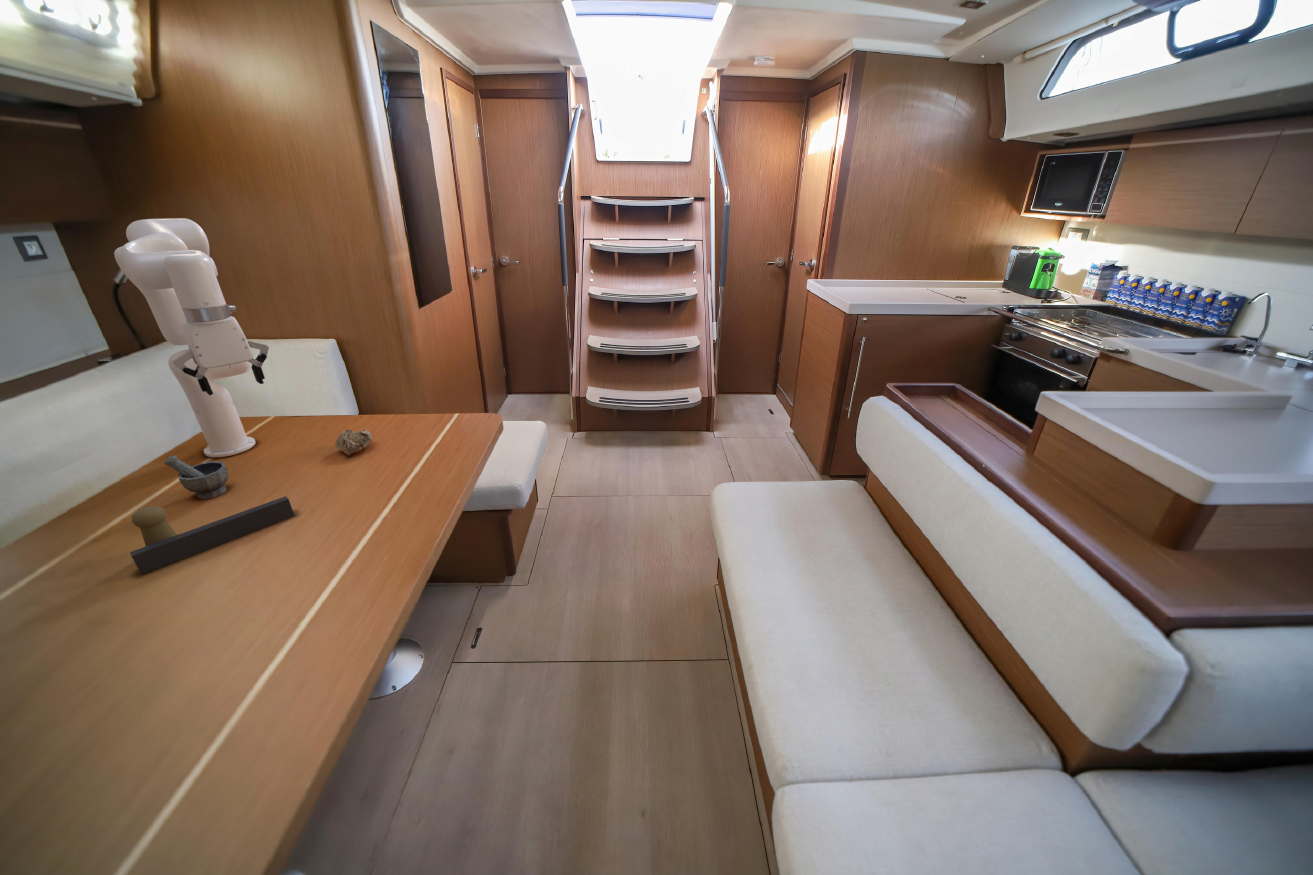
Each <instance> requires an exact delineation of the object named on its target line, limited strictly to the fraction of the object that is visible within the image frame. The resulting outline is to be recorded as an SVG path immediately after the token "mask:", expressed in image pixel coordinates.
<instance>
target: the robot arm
mask: <svg viewBox="0 0 1313 875" xmlns="http://www.w3.org/2000/svg"><path fill="white" fill-rule="evenodd" d="M125 236H126V239H127V241H128V242H126V243H125V244H123V245H122V246H119V247H118V248H116V249H115V250H114V252H113V253H114V254H113V255H114V256H113V257H114V258H115V261H116V263H117V265H118V267H119V269H120V270H121V272H122V273H123V274H124V276H125V277H126V278H127V279H128V280H129V281H130V282H131V283H132V284H133V285H134V286H135V287H136V288H137V289H138V290H139V291H140V293H141V294H142V295H143V296H144V298H145V300H146V302H147V304H148V306H149V308H150V311H151V313H152V315H153V317H154V319H155V321H156V323H157V326H158V328H159V330H160V332H161V334H162V336H163V338H164V339H165V340H166V341H167V342H168V343H169V344H171V345H173V346H186V345H187V347H188V349H184V350H180V351H177V352H175V353H173V354H171V355H170V356H169V358H168V361H167V362H168V367H169V369H170V371H171V372H172V374H173V376H174V377H175V379H176V380H177V382H178V383H179V385H180V386H181V388H182V390H183V392H184V394H185V396H186V398H187V400H188V403H189V404H190V407H191V409H192V411H193V414H194V416H195V419H196V420H197V424H198V425H199V428H200V430H201V432H202V434H203V437H204V440H205V441H206V444H207V446H206V447H205V448H204V449H203V454H204V456H206V457H208V458H224V457H225V458H226V457H230V456H235V455H238V454H241V453H245V452H246V451H248V450H250V449H251V448H253V447H254V446H255V445H256V443H257V442H256V438H254V437H252V436H247V434H246V430H245V428H244V425H243V423H242V421H241V418H240V416H239V413H238V410H237V407H236V405H235V403H234V400H233V398H232V395H231V393H230V392H229V390H228V389H227V388H225V387H224V386H222V385H220V384H219V383H216V382H214V381H217V380H219V379H224V378H229V377H233V376H239V375H243V374H246V373H247V372H249V370H250V368H251V371H252V373H253V376H254V379H255V382H257V383H258V384H260V385H263V384H265V382H264V380H265V375H264V371H263V369H262V367H263V365H264V362H265V361H266V360H267V358H268V354H269V349H270V347H269V345H267V344H263V343H259V342H254V341H251V340H250V341H249V340H248V339H247V337H246V335H245V332H244V331H243V329H242V327H241V325H240V324H239V322H238V320H237V319H236V317H234V316H232V313H235V312H238V310H237V307H236V305H231V304H230V305H229V304H227V303H226V299H225V297H224V294H223V291H222V289H221V286H220V283H219V280H218V278H217V277H218V276H219V273H218V272H219V271H218V268H217V266H216V263H215V261H214V259H213V258H212V257H211V256H210V243H209V239H208V236H207V235H206V232H205V231H204V230H203V228H202V227H201V226H200V225H199V224H198V223H197V222H195V221H193V220H192V219H189V218H147V219H146V218H145V219H138V220H135V221H132V222H131V223H130V224H129V225H127V227H126V230H125ZM252 349H256V350H259V353H258V355H257V356H256V358H254V354H253V351H252ZM250 364H251V366H250Z"/></svg>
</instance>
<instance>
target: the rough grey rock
mask: <svg viewBox="0 0 1313 875" xmlns="http://www.w3.org/2000/svg"><path fill="white" fill-rule="evenodd" d="M372 439H373V434H372V433H371V432H370V431H369V430H368V429H363V430H352V429H351V428H347V429H345V430H343V431H342V432H341V433H340V434H339V435H338V437H337V439H336V440H335V442H336V443H335V446H336V448H337V449H338V450H340V451H342V453H344V454H346V455H347V456H351V455H352V454H355V453H357V452H359V451H362V450H363V449H365V448H366V447H367V446H368V445H370V443H371V442H372Z"/></svg>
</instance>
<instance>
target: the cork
mask: <svg viewBox="0 0 1313 875" xmlns="http://www.w3.org/2000/svg"><path fill="white" fill-rule="evenodd" d="M166 518H167V513H166V510H165V509H164V508H163V507H160V506H157V505H155V506H154V505H153V506H147V507H143V508H141V509H139V510H137V511H136V512H134V513H133V514H132V517H131V521H132V524H133V525H134V526H135V527H137V528H139V529H140V532H141V536H142V539H143V543H144V547H145V546H148V545H151V544H154V543H156V542H159V541H162V540H165V539H168V538H170V537H173V536H176V535H178V533H177V532H176V531H175V529H174V528H173V527H172V526H171V524H170V523H169V522H168V521H167V519H166Z"/></svg>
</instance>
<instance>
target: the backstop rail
mask: <svg viewBox="0 0 1313 875" xmlns="http://www.w3.org/2000/svg"><path fill="white" fill-rule="evenodd" d="M293 517H295V512H294V510H293V507H292V504H291V502H290V499H289V498H288V497H287V496H286V495H285V496H282V497H279V498H276V499H273V500H271V501H268V502H265V503H262V504H258V505H257V506H254V507H251V508H249V509H245V510H243V511H240V512H237V513H235V514H232V515H229V516H225V517H224V518H221V519H218V520H215V521H213V522H209V523H207V524H204V525H201V526H198V527H196V528H193V529H190V530H187V531H184V532H182V533H179V534H177V535H176V536H173V537H170V538H168V539H165V540H162V541H159V542H156V543H154V544H151V545H148V546H145V545H144V546H143V547H140V548H137V549H134V550H131V551H129V554H130V557H131V558H132V560H133V562H134V564H135V565H136V567H137V569H138V570H139V572H140V574H141V575H142V576H143V575H145V574H146V575H147V574H149V573H151V572H153V571H157V570H159V569H162V568H164V567H166V566H169V565H171V564H174V563H177V562H179V561H181V560H186V559H187V558H189V557H192V556H194V555H198V554H200V553H203V552H205V551H207V550H210V549H214V548H216V547H219V546H221V545H223V544H226V543H228V542H231V541H234V540H236V539H239V538H241V537H244V536H247V535H249V534H252V533H254V532H257V531H259V530H263V529H265V528H267V527H270V526H272V525H275V524H278V523H280V522H283V521H285V520H288V519H291V518H293Z"/></svg>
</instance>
